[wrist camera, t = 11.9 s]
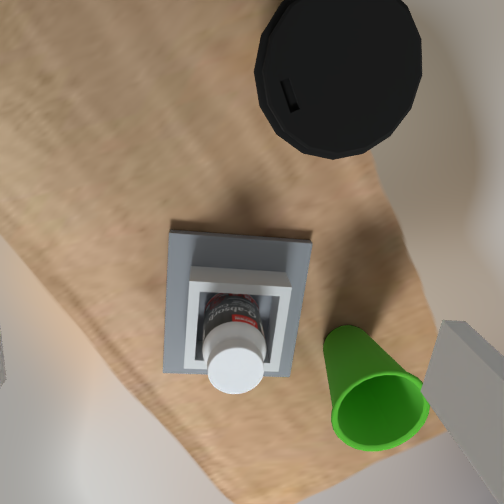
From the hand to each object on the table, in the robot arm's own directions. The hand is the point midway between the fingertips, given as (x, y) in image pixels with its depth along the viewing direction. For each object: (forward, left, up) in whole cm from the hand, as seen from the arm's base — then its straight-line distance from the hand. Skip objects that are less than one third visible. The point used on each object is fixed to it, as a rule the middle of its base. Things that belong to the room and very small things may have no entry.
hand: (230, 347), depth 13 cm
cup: (+18, +16, -29) cm, 38 cm away
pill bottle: (+14, +3, -28) cm, 31 cm away
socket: (+14, +3, -29) cm, 32 cm away
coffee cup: (-9, +7, -29) cm, 31 cm away
